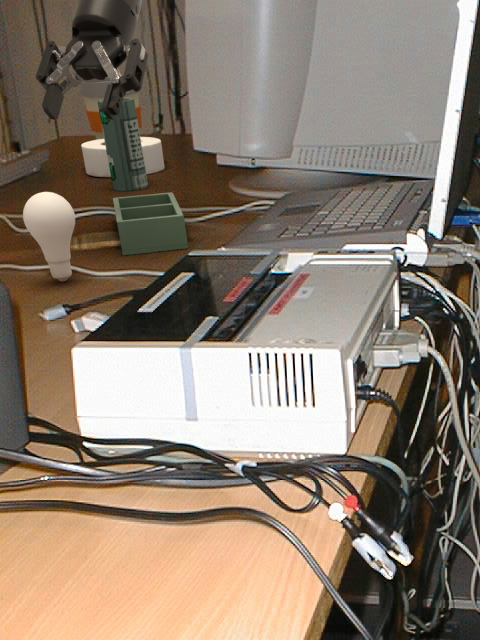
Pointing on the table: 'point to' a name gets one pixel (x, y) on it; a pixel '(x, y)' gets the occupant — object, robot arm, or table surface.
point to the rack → (150, 223)
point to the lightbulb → (51, 230)
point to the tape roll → (98, 157)
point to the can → (124, 148)
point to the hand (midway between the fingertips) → (78, 115)
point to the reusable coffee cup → (96, 92)
